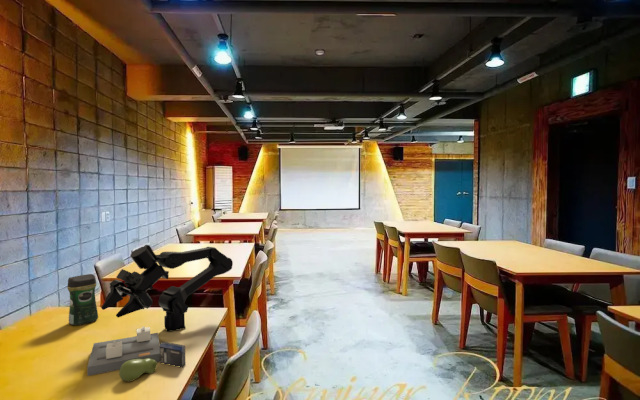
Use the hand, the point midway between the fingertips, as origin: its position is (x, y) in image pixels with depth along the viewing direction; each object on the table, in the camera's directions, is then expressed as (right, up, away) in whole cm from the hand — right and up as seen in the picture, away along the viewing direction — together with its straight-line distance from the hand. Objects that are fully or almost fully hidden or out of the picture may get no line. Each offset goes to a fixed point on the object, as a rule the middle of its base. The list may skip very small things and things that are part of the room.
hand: (109, 312), depth 120 cm
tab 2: (+10, -9, +2) cm, 14 cm away
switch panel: (+8, -12, -4) cm, 15 cm away
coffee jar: (-25, -12, +26) cm, 38 cm away
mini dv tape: (+25, -13, -10) cm, 29 cm away
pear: (+18, -13, -16) cm, 28 cm away
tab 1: (+7, -10, -10) cm, 15 cm away
